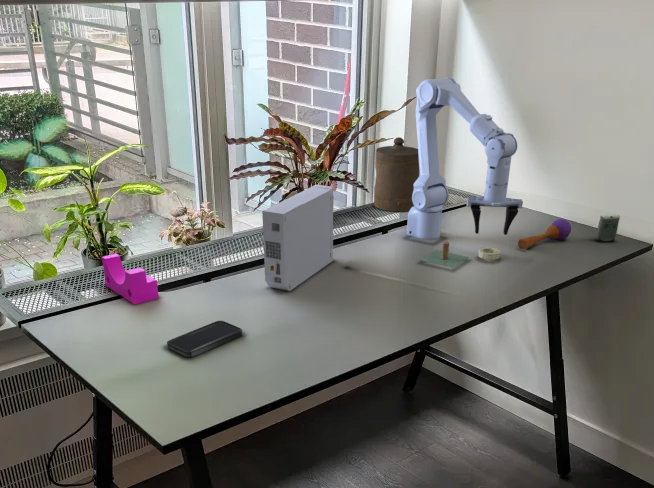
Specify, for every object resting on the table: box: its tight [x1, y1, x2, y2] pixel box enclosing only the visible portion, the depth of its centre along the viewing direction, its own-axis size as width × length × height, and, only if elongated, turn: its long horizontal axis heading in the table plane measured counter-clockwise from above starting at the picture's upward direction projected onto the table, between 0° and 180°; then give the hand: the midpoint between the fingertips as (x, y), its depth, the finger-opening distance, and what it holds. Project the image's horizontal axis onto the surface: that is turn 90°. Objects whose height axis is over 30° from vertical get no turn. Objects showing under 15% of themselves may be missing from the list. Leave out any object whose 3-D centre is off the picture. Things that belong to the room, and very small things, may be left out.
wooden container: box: [373, 136, 420, 212], centre depth 241 cm, size 15×15×22 cm
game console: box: [261, 184, 334, 292], centre depth 184 cm, size 6×27×20 cm, turn 155°
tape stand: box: [420, 241, 470, 269], centre depth 198 cm, size 10×10×6 cm
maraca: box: [517, 218, 572, 251], centre depth 213 cm, size 6×6×20 cm
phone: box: [166, 320, 243, 358], centre depth 154 cm, size 8×1×15 cm
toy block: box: [101, 253, 160, 305], centre depth 175 cm, size 15×6×8 cm, turn 41°
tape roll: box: [477, 246, 501, 261], centre depth 201 cm, size 6×6×2 cm
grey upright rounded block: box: [596, 213, 621, 243], centre depth 215 cm, size 6×5×8 cm
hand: (490, 233), depth 198 cm, fingers open, 7 cm apart
